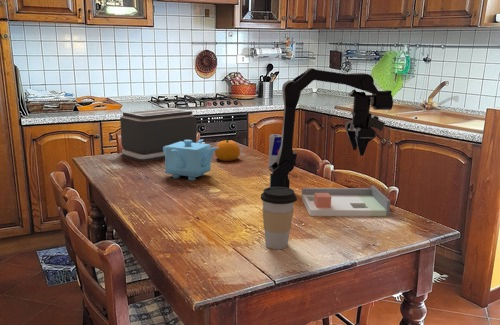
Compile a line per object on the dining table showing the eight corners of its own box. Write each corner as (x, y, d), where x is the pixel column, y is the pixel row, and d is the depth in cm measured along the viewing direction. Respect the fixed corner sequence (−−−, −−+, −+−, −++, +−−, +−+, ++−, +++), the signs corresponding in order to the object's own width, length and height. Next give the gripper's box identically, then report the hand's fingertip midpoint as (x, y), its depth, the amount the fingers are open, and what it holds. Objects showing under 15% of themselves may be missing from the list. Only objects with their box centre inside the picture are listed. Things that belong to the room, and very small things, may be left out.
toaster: (201, 151, 236) (201, 110, 231) (142, 162, 212) (141, 117, 207) (177, 145, 249) (176, 106, 244) (119, 155, 224) (117, 112, 220)
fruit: (239, 162, 215) (239, 141, 213) (213, 162, 215) (213, 140, 213) (240, 156, 226) (240, 136, 224) (215, 156, 227) (215, 135, 224)
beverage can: (279, 171, 202) (280, 136, 198) (267, 170, 203) (268, 135, 199) (281, 168, 206) (282, 134, 203) (269, 167, 207) (270, 133, 204)
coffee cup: (257, 238, 131) (258, 185, 127) (291, 237, 131) (293, 185, 128) (261, 252, 121) (262, 196, 118) (297, 252, 122) (300, 196, 119)
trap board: (310, 216, 149) (311, 200, 147) (301, 199, 165) (302, 185, 164) (389, 216, 150) (390, 201, 149) (372, 199, 167) (373, 185, 165)
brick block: (316, 207, 150) (317, 197, 150) (313, 203, 155) (314, 192, 154) (330, 207, 151) (331, 197, 150) (327, 203, 155) (328, 192, 154)
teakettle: (160, 172, 196) (159, 137, 192) (204, 168, 203) (204, 134, 199) (172, 185, 179) (171, 146, 175) (219, 180, 186) (219, 143, 183)
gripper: (392, 113, 159) (388, 159, 163) (375, 106, 177) (372, 147, 181) (360, 113, 159) (356, 158, 162) (346, 106, 177) (343, 147, 180)
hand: (358, 152), depth 172 cm, fingers open, 9 cm apart
